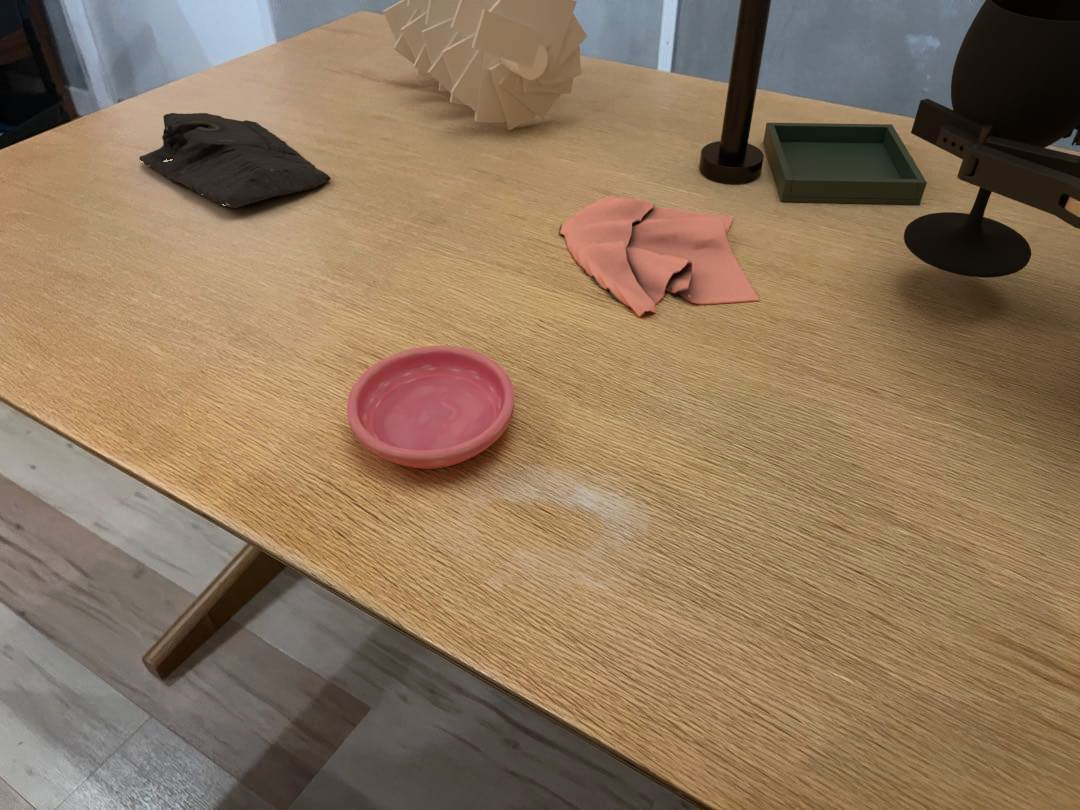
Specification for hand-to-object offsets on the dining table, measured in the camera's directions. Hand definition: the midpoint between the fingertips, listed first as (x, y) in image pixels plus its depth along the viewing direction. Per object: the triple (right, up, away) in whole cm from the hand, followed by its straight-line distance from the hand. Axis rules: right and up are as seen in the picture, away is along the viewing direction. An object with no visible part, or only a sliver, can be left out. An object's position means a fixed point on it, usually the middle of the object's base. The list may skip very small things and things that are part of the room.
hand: (964, 104), depth 68 cm
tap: (-11, +2, +26) cm, 29 cm away
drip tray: (-1, +2, +26) cm, 26 cm away
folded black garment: (-70, +2, +28) cm, 76 cm away
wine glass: (+2, -11, +5) cm, 12 cm away
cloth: (-23, -10, +13) cm, 29 cm away
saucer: (-43, -27, -4) cm, 51 cm away
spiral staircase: (-42, +15, +42) cm, 61 cm away
